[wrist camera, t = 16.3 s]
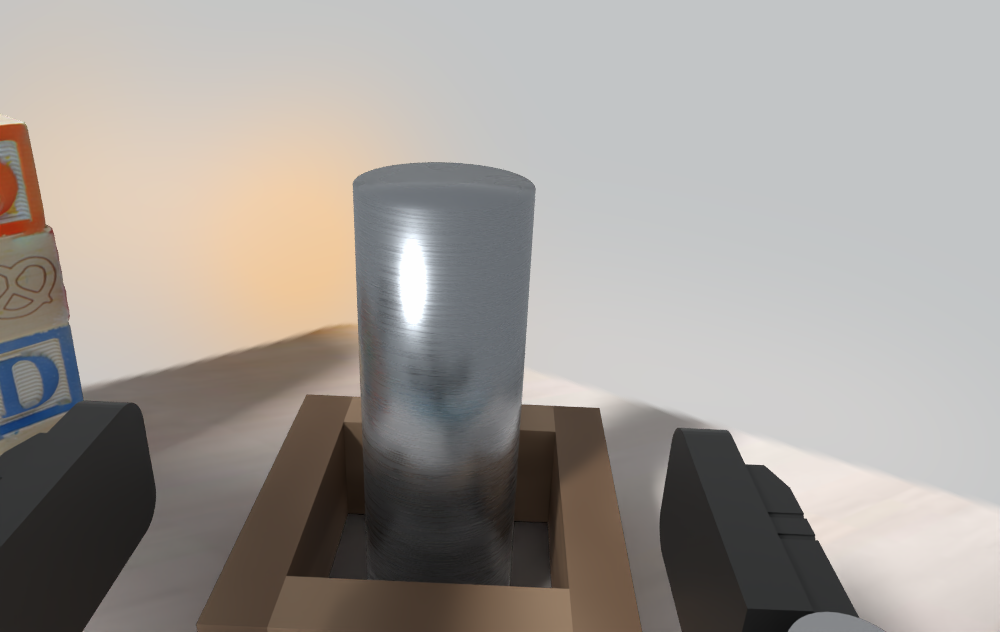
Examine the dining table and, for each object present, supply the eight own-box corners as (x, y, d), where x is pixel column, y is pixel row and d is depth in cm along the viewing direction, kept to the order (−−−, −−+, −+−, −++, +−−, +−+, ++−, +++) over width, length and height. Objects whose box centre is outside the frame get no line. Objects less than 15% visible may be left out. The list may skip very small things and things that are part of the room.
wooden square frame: (214, 736, 18) (196, 624, 16) (312, 482, 26) (306, 394, 25) (625, 754, 18) (644, 644, 16) (589, 495, 26) (599, 408, 25)
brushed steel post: (356, 648, 20) (334, 206, 15) (380, 543, 24) (370, 158, 19) (508, 655, 20) (538, 216, 15) (509, 549, 24) (533, 166, 19)
